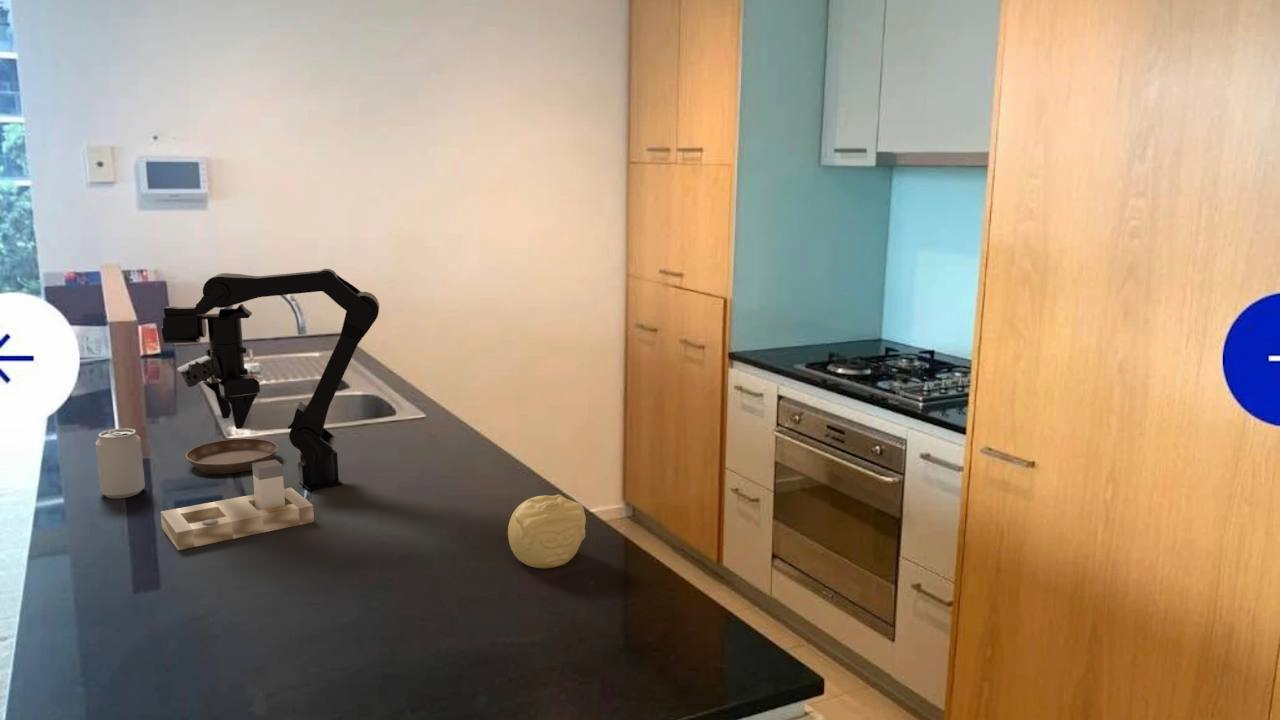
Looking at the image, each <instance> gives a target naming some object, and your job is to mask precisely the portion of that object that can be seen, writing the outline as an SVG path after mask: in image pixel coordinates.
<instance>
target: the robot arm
mask: <svg viewBox="0 0 1280 720" xmlns="http://www.w3.org/2000/svg"><path fill="white" fill-rule="evenodd" d="M315 292H316V293H318V292H323V293H324V294H325V295H327V296H328V298H330V299H331V300H332V301H334V302H335V303H336V304H337V305H338V306H339V307H340V308H341V309H343V310H345V311H346V312H345V316H344V320H343V323H342V328H341V332H340V336H339V337H338V340H337V341H336V345H335V346H334V349H333V351H332V353H331V355H330V357H329V359H328V361H327V364H326V366H325V368H324V370H323V373H322V375H321V376H320V379H319V381H318V384H317V385H316V388H315V390H314V392H313V394H312V396H311V398H310V399H309V400H308V401H307V403H306V404H305V403H303V402H301V401H299V402H298V404H297V407H296V408H295V412H294V416H293V417H292V418H291V419H290V421H289V423H288V426H287V429H289V430H290V431H289V435H288V437H289V438H288V439H289V442H290V443H291V445H292V446H293V447H294V448H295V449H298V450H299V451H300V453H299V456H300V458H299V459H300V461H298V462H297V469H298V483H300V484H301V485H302V486H304V487H305V488H306V489H307V490H308V491H314V490H318V489H324V488H327V487H328V488H329V487H335V486H340V485H342V484H343V481H341V480H340V477H339V461H338V458H339V457H338V452H337V451H336V450H335V449H334V444H335V439H336V436H335V435H334V434H333V433H331V432H330V431H329V430H328V429H326V427H325V424H326V421H327V416H328V412H329V408H330V405H331V403H332V401H333V399H334V397H335V394H336V393H337V390H338V388H339V386H340V384H341V382H342V380H343V378H344V375H345V373H346V371H347V368H348V366H349V364H350V363H351V360H352V357H353V356H354V353H355V351H356V349H357V347H358V345H359V343H360V342H361V341H362V339H363V338H364V337H365V336H366V334H367V333H368V332H369V330H370V329H371V328H372V326H373V324H374V323H375V322H376V320H377V319H378V316H379V314H380V303H379V300H378V298H377V297H376V296H375V294H373V293H371V292H368V291H361V290H360V289H358V288H357V287H356V286H354V285H353V284H352V283H350V282H349V281H347V280H346V279H344V278H342V277H341V276H340V275H338V274H337V273H336V271H334V270H333V269H330V268H323V269H320V270H312V271H300V272H291V273H290V272H289V273H281V274H280V273H279V274H271V275H260V276H259V275H251V274H250V275H248V274H242V273H241V274H240V273H228V272H224V273H223V272H222V273H217V274H216V275H213V276H212V277H210V278H209V279H208V280H206V282H205V283H204V284H203V287H202V295H203V296H202V297H201V299H200V300H199V302H197V303H196V304H195V306H188V307H187V306H186V307H185V306H184V307H181V306H180V307H179V306H178V307H177V306H166V307H165V308H163V313H164V314H163V318H162V319H163V320H162V326H161V335H162V339H163V342H164V344H165V345H171V344H172V345H174V344H176V345H179V344H199V343H200V342H201V339H202V338H206V337H207V329H208V342H209V343H208V344H209V346H207V347H206V348H205V355H204V356H201V357H199V358H197V359H194V360H192V361H189V362H187V363H184V364H183V365H180V366H179V367H177V368H176V371H177V373H178V375H179V377H180V378H181V380H182V383H183V384H184V385H186V387H188V388H193V387H195V386H197V385H198V383H200V382H202V384H203V385H205V386H206V387H207V388H209V389H210V390H211V391H212V392H213V394H214V397H215V400H216V403H217V406H218V409H219V411H220V413H221V414H220V415H221V418H222V419H229V418H230V416H231V417H232V420H233V424H234V427H235V429H236V430H240V429H243V428H244V424H245V422H246V420H247V417H248V414H249V412H250V410H251V409H252V405H253V403H254V401H255V399H256V397H257V396H258V395H259V393H261V387H260V385H261V384H260V381H258V380H257V379H256V378H254V377H253V376H251V375H249V373H248V369H247V368H246V366H245V355H244V354H247V348H246V346H244V345H243V344H244V343H243V329H242V319H249V318H250V317H252V315H253V313H252V311H251V310H250V309H247V308H246V307H245V305H244V304H243V303H244V302H247V301H250V300H254V299H258V298H264V297H265V298H266V297H275V296H276V297H277V296H285V295H287V296H288V295H298V294H304V293H305V294H306V293H315ZM234 305H238V306H237V308H227V307H230V306H234ZM215 308H216V309H217V308H219V311H218V313H209V312H210V311H212V310H213V309H215ZM206 320H207V322H206Z"/></svg>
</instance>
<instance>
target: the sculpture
mask: <svg viewBox="0 0 1280 720" xmlns="http://www.w3.org/2000/svg"><path fill="white" fill-rule="evenodd" d="M585 513H586V512H585V510H584V506H583V505H582V504H581V503H579V502H576V501H574V500H572V499H568V498H566V497H564V496H563V495H561V494H559V493H558V494H555V495H546V494H544V495H537V496H533V497H531V498H528V499H526V500H525V501H523V502H522V503H520V504H518V506H517V507H516V509H515V510H514V511H513V513H512V514H511V516H510V519H509V523H508V528H507V537H508V543H509V546H510V550H511V551H512V553H513V555H514V556H515V558H516V559H517V560H519V561H520V562H521V563H522V564H524V565H526V566H528V567H530V568H531V567H532V568H535V569H553V568H557V567H561V566H563V565H566V564H567V563H568V562H569V561H571V560H572V559H573V558H574V556H575V555H576V554H577V552H578V550H579V548H580V546H581V544H582V541H583V540H584V539H585V537H586V529H585V527H586V522H587V520H586V519H587V517H586V514H585Z"/></svg>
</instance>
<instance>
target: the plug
mask: <svg viewBox="0 0 1280 720" xmlns="http://www.w3.org/2000/svg"><path fill="white" fill-rule="evenodd" d="M252 481H253V493H254V496H255V509H257V510H263V509H267V508H273V507H278V506H283V505H285V497H284V489H285V483H284V470H283V464H282V463H280V462H279V461H278V460H277V459H271V460H269V461H263V462H257V463H252Z"/></svg>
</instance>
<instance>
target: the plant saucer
mask: <svg viewBox="0 0 1280 720" xmlns="http://www.w3.org/2000/svg"><path fill="white" fill-rule="evenodd" d="M278 449H279V446H278V445H277V443H275V442H274V441H271V440H268V439H267V440H266V439H260V438H232V439H224V440H217V441H213V442H208V443H204V444H201V445H198V446H196V447H194V448H192V449H190V450H189V451H187V452H186V453H185V458H186V460H188V462H189V463H190V464H191V465H192V466H193V467H194V468H196V469H197V470H198V471H201V472H203V473H208V474H209V473H210V474H234V473H241V472H247V471H253V469H252V463H257V462H263V461H269V460H273V457H274V456H275V455H276V453H277V451H278Z"/></svg>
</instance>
